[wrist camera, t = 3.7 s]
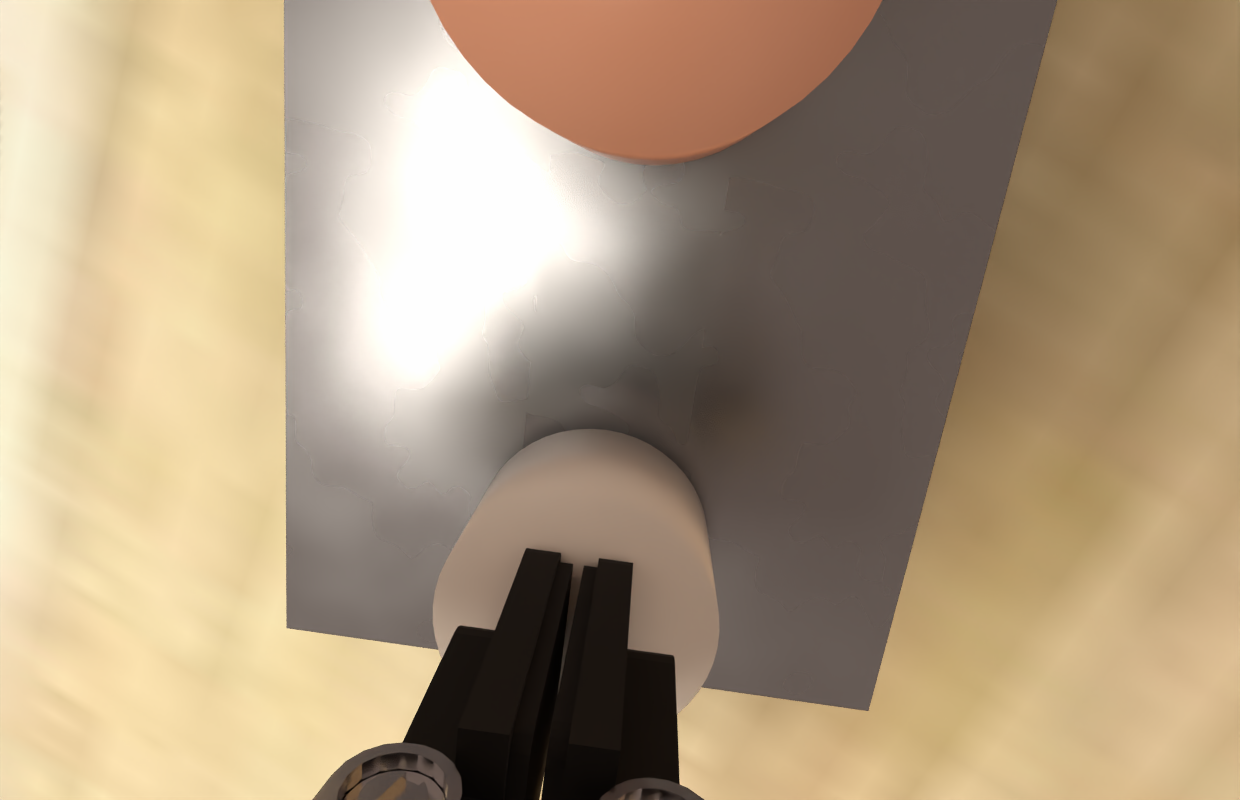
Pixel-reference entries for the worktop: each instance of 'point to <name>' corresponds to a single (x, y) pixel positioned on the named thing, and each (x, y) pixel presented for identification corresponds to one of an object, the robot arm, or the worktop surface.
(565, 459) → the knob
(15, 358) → the worktop surface
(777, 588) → the knob panel
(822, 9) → the middle knob
